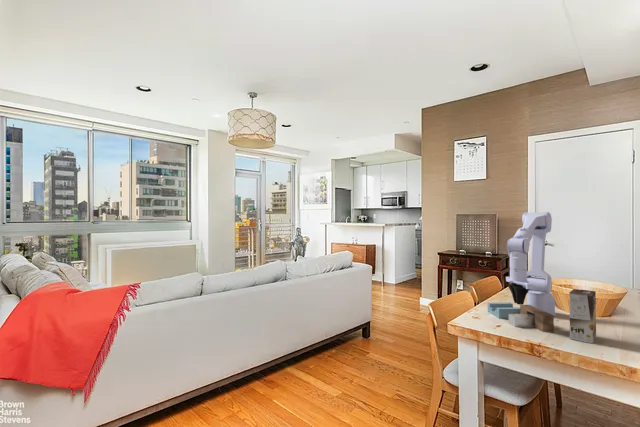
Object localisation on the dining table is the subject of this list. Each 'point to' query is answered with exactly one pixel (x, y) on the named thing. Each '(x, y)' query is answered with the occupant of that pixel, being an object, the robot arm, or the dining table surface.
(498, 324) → the dining table surface
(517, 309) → the v block
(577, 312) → the coffee box
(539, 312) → the brown bridge block
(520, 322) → the grey rectangular bar
